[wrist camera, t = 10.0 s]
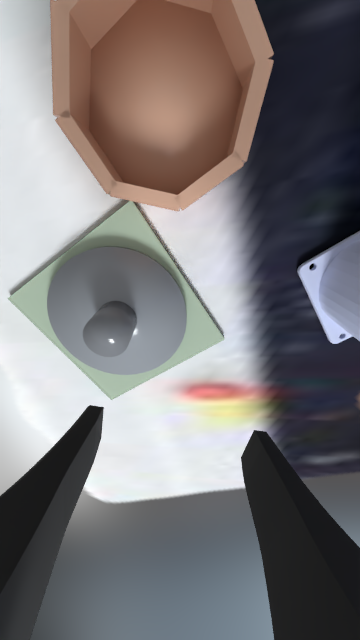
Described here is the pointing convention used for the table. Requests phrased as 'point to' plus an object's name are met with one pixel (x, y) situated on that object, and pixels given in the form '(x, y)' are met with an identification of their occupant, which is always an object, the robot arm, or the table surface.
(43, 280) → the mat
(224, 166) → the dish
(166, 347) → the lid
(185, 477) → the table surface
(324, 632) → the robot arm
